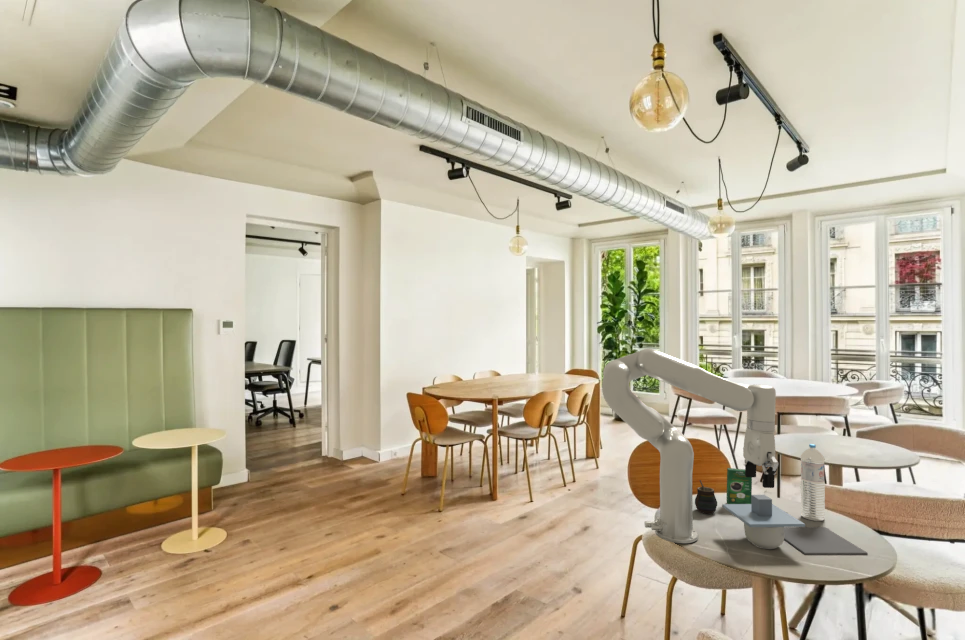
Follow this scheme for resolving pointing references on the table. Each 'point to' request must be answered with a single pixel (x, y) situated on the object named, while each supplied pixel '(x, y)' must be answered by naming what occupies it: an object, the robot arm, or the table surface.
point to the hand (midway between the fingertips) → (759, 482)
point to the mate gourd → (705, 500)
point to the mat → (820, 541)
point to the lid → (762, 513)
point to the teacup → (765, 536)
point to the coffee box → (738, 487)
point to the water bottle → (812, 485)
